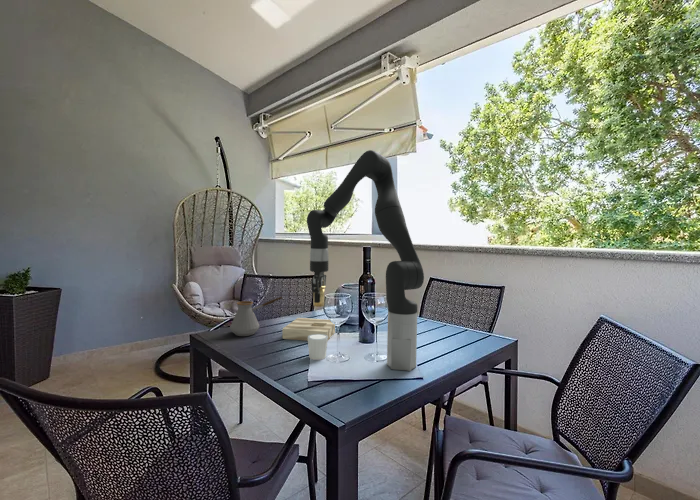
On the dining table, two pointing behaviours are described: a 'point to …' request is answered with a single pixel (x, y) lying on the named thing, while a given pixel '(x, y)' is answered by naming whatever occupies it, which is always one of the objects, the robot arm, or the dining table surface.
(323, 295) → the bushing
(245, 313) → the coffee pot
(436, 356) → the dining table surface
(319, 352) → the shot glass
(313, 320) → the jig
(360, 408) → the dining table surface
